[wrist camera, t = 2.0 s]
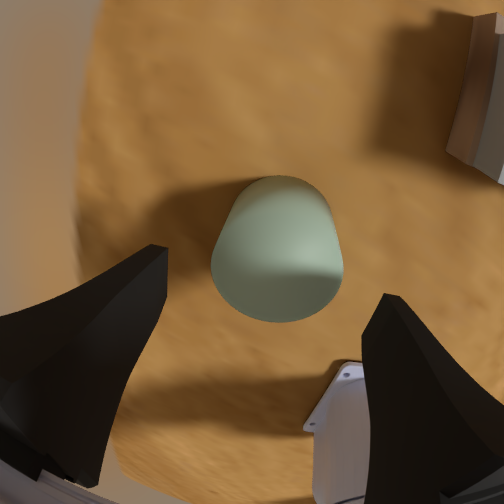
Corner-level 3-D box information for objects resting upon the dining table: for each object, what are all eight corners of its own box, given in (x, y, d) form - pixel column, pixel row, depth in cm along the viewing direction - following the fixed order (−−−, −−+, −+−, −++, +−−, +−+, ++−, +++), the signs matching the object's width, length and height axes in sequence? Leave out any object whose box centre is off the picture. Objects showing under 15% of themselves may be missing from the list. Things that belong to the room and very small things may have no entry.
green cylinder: (316, 276, 16) (320, 331, 13) (223, 256, 16) (205, 308, 13) (345, 189, 14) (361, 230, 10) (238, 165, 14) (219, 198, 10)
